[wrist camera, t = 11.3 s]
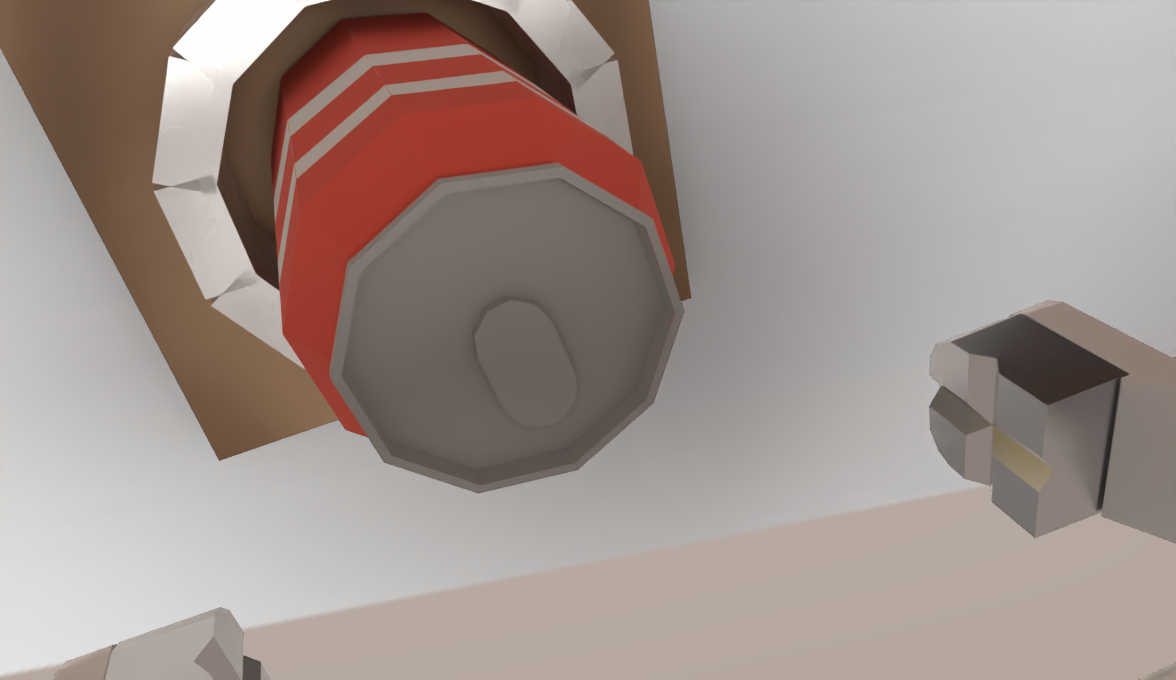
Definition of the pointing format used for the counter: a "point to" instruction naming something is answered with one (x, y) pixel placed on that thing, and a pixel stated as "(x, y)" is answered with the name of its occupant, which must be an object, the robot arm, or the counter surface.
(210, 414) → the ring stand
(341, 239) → the beverage can
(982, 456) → the robot arm
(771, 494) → the counter surface
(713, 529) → the counter surface
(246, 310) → the white segmented ring
